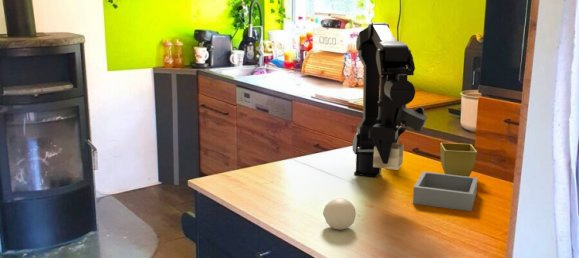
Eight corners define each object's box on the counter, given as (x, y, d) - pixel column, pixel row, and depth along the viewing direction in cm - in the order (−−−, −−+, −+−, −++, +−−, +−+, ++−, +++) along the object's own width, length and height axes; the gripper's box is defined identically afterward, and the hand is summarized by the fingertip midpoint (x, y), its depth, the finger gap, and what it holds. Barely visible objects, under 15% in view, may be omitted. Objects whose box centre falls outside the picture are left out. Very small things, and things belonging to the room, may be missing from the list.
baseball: (334, 219, 139) (334, 191, 138) (360, 227, 135) (361, 199, 133) (316, 228, 134) (316, 199, 133) (343, 236, 130) (344, 207, 128)
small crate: (373, 167, 147) (373, 147, 145) (378, 160, 152) (379, 141, 151) (397, 169, 144) (398, 149, 143) (402, 163, 150) (403, 143, 149)
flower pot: (468, 173, 175) (471, 143, 173) (474, 183, 166) (477, 151, 164) (437, 172, 176) (439, 142, 174) (442, 181, 167) (444, 150, 165)
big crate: (412, 203, 150) (413, 186, 149) (422, 186, 163) (423, 171, 162) (471, 211, 145) (472, 194, 144) (476, 193, 158) (477, 177, 157)
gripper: (418, 106, 133) (414, 174, 137) (431, 93, 150) (427, 154, 154) (369, 102, 137) (366, 169, 141) (387, 90, 154) (384, 149, 158)
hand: (388, 160), depth 148 cm, fingers closed on small crate, 6 cm apart
